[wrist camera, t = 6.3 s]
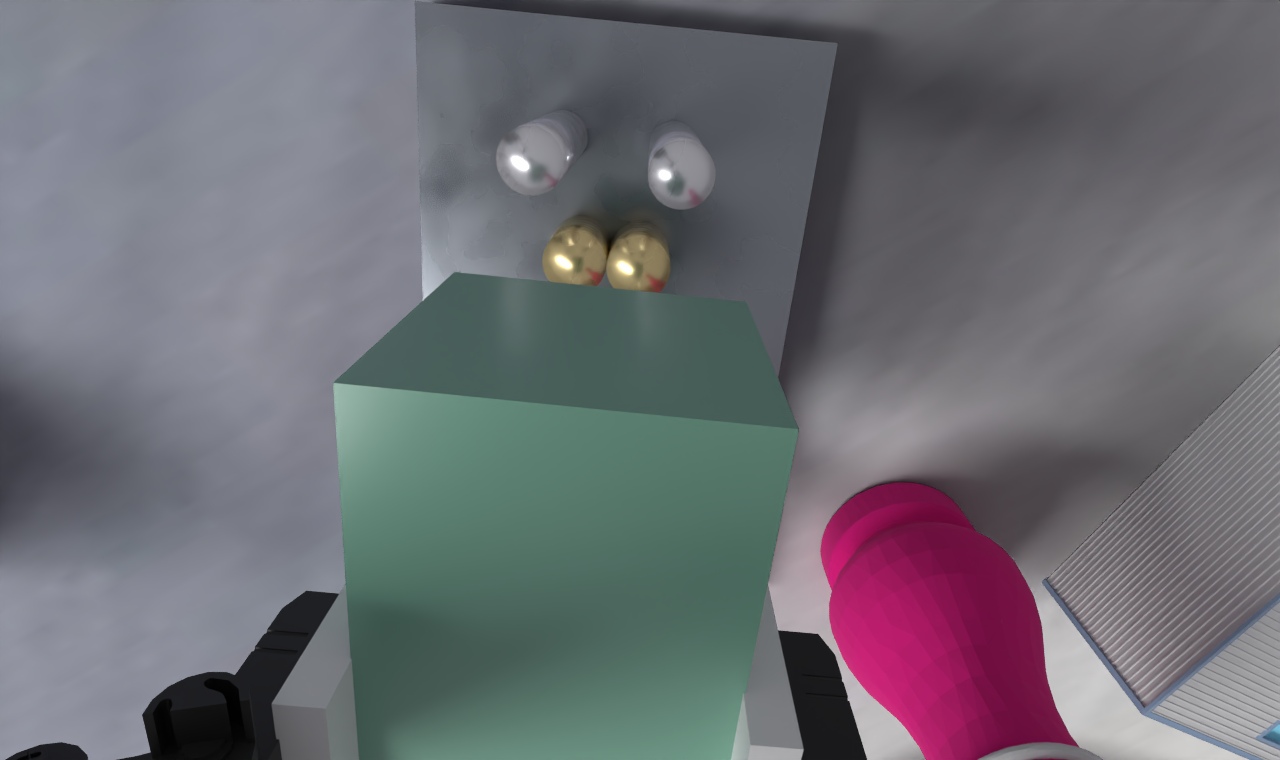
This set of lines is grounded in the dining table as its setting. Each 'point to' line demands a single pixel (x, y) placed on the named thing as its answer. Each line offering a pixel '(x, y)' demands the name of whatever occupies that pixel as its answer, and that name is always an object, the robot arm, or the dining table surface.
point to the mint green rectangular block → (558, 522)
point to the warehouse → (1195, 579)
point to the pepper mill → (941, 628)
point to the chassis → (618, 155)
